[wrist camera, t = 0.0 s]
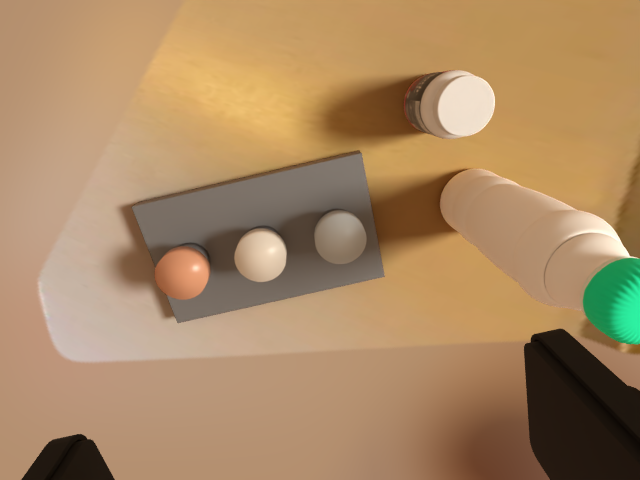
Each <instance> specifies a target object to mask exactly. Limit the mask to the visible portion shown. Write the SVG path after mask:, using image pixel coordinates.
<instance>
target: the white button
mask: <svg viewBox="0 0 640 480" xmlns="http://www.w3.org/2000/svg"><path fill="white" fill-rule="evenodd" d="M286 255H287V249H286V245H285V243H284V241H283V239H282V238H281V237H280V236H279V235H278V234H277V233H275V232H274V231H272V230H269V229H263V228H260V229H254V230H251V231H249V232H247V233H246V234H245V235H243V237H242V238H241V239H240V241H239V243H238V245H237V248H236V251H235V255H234V260H235V264H236V267H237V269H238V270H239V272H240V273H241V274H242V275H243V276H244V277H246V278H247V279H249V280H252V281H256V282H266V281H270V280H272V279H274V278H276V277H277V276H279V275H280V274H281V272H282V271H283V269H284V267H285V264H286Z"/></svg>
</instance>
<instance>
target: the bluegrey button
mask: <svg viewBox="0 0 640 480" xmlns="http://www.w3.org/2000/svg"><path fill="white" fill-rule="evenodd" d="M314 238H315V246H316V249H317V251H318V253H319V254H320V256H321V257H322V258H324V259H325V260H326V261H328V262H331V263H334V264H346V263H349V262H352V261H354V260H355V259H357V258H358V257H359V256H360V255H361V254H362V252H363V251H364V248H365V246H366V240H367V237H366V232H365V230H364V227H363V225H362V223H361V222H360V220H359V219H358V218H357V217H356V216H355V215H354V214H352V213H350V212H348V211H343V210H337V211H332V212H329V213H327V214H326V215H324V216H323V217H322V218H321V219H320V220H319V221H318V223H317V225H316V227H315V232H314Z"/></svg>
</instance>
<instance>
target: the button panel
mask: <svg viewBox="0 0 640 480" xmlns="http://www.w3.org/2000/svg"><path fill="white" fill-rule="evenodd" d="M132 209H133V212H134V215H135V217H136V220H137V222H138V225H139V227H140V230H141V232H142V235H143V237H144V240H145V242H146V245H147V247H148V250H149V252H150V255H151V257H152V260H153V262H154V265H155V267H156V266H157V264H158V262H159V261H160V260H161V259H162V257H163V256H164V255H165V254H166V253H167V252H168V251H169V250H171V249H173V248H176V247H180V246H186V247H191V248H194V249H196V250H198V251H200V252H201V253H202V254H203V255H204V256H205V257H206V258H207V260H208V262H209V264H210V269H211V272H210V277H209V280H208V282H207V284H206V286H205V288H204V289H203V291H202V292H201V293H200V294H199V295H197V296H196V297H194V298H191V299H186V300H181V299H175V298H172V297H170V296H168V295H167V298H168V300H169V303H170V305H171V308H172V310H173V313H174V315H175V318H176V320H177V323H181V322H185V321H190V320H194V319H198V318H203V317H207V316H212V315H216V314H221V313H225V312H230V311H234V310H239V309H243V308H247V307H252V306H256V305H261V304H265V303H270V302H274V301H279V300H283V299H287V298H292V297H296V296H301V295H305V294H310V293H314V292H319V291H323V290H328V289H332V288H336V287H341V286H345V285H350V284H354V283H359V282H363V281H368V280H372V279H376V278H381V277H385V276H384V270H383V265H382V260H381V254H380V249H379V244H378V238H377V233H376V228H375V222H374V217H373V212H372V206H371V201H370V196H369V190H368V185H367V180H366V174H365V169H364V164H363V158H362V153H361V152H360V151H354V152H350V153H346V154H342V155H337V156H333V157H329V158H325V159H320V160H316V161H312V162H307V163H303V164H299V165H295V166H290V167H286V168H282V169H278V170H273V171H269V172H265V173H261V174H256V175H252V176H248V177H243V178H239V179H235V180H231V181H226V182H222V183H218V184H214V185H209V186H205V187H201V188H196V189H192V190H188V191H184V192H179V193H175V194H171V195H167V196H162V197H158V198H154V199H150V200H145V201H141V202H138V203H137V204H135V205H134V206H132ZM337 210H343V211H348V212H350V213H352V214H354V215H355V216H356V217H357V218H358V219H359V220H360V222H361V223H362V225H363V227H364V230H365V232H366V237H367V240H366V246H365V248H364V251H363V252H362V254H361V255H360V256H359V257H358V258H357V259H355V260H354V261H352V262H349V263H346V264H334V263H331V262H328V261H326V260H325V259H324V258H322V257H321V256H320V254H319V253H318V251H317V249H316V246H315V238H314V232H315V227H316V225H317V223H318V221H319V220H320V219H321V218H322V217H323V216H324V215H326V214H327V213H329V212H332V211H337ZM260 228H263V229H269V230H272V231H274V232H275V233H277V234H278V235H279V236H280V237H281V238H282V239H283V241H284V243H285V245H286V249H287V255H286V264H285V267H284V269H283V271H282V272H281V274H280V275H279V276H277V277H276V278H274V279H272V280H270V281H266V282H256V281H252V280H249V279H247V278H246V277H244V276H243V275H242V274H241V273H240V272H239V270H238V269H237V267H236V264H235V260H234V255H235V251H236V248H237V245H238V243H239V241H240V239H241V238H242V237H243V235H245V234H246V233H247V232H249V231H251V230H254V229H260Z"/></svg>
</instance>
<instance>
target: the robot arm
mask: <svg viewBox="0 0 640 480" xmlns="http://www.w3.org/2000/svg"><path fill="white" fill-rule="evenodd" d="M524 356H525V372H526V388H527V403H528V419H529V435H530V443H531V447H532V450H533V452H534V454H535V456H536V458H537V460H538V461H539V463H540V465H541V466H542V468H543V469H544V471H545V472H546V474H547V475H548V477H549V478H550V480H640V391H639V390H638V389H636V388H634V387H631V386H627V385H626V384H625V383H624V382H622V380H620V379H619V378H618V377H617V376H616V375H615V374H614V373H613V372H611V371H610V370H609V369H608V368H607V367H606V366H605V365H604V364H602V363H601V362H600V361H599V360H598V359H597V358H596V357H595V356H594V355H592V354H591V353H590V352H589V351H588V350H587V349H586V348H585V347H583V346H582V345H581V344H580V343H579V342H578V341H577V340H576V339H574V338H573V337H572V336H571V335H570V334H569V333H568V332H566V331H565V330H564V329H556V330H551V331H547V332H542V333H538V334H534V335H532V337H531V343H527V344H525V346H524ZM22 480H115V479H114V478H113V476H112V474H111V472H110V471H109V468H108V467H107V465H106V463H105V461H104V459H103V457H102V456H101V454H100V452H99V450H98V448H97V446H96V445H95V443H94V442H93V441H92V440H90V439H87V438H86V437H85V436H84V435H82V434H77V435H72V436H68V437H63V438H59V439H54V440H52V441H50V442H49V443H48V444H47V445H46V446H45V447H44V449H43V450H42V452H41V453H40V455H39V456H38V457H37V459H36V460H35V461H34V463H33V464H32V466H31V467H30V468H29V470H28V471H27V473H26V474H25V475H24V477H23V478H22Z"/></svg>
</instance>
